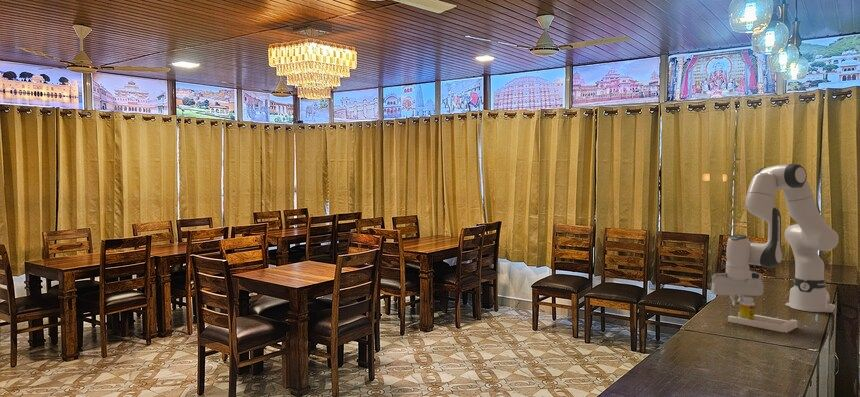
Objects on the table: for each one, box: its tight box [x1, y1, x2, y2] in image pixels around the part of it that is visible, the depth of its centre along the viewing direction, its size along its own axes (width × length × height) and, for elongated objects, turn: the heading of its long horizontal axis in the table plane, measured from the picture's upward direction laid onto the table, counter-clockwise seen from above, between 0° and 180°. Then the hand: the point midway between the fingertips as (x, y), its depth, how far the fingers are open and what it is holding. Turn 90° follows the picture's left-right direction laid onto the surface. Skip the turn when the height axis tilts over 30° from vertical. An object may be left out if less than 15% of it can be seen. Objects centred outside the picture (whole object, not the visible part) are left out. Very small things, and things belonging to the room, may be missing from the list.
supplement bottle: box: [738, 296, 756, 320], centre depth 237 cm, size 6×6×10 cm
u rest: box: [727, 312, 798, 334], centre depth 233 cm, size 12×22×3 cm, turn 39°
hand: (736, 305), depth 240 cm, fingers closed
